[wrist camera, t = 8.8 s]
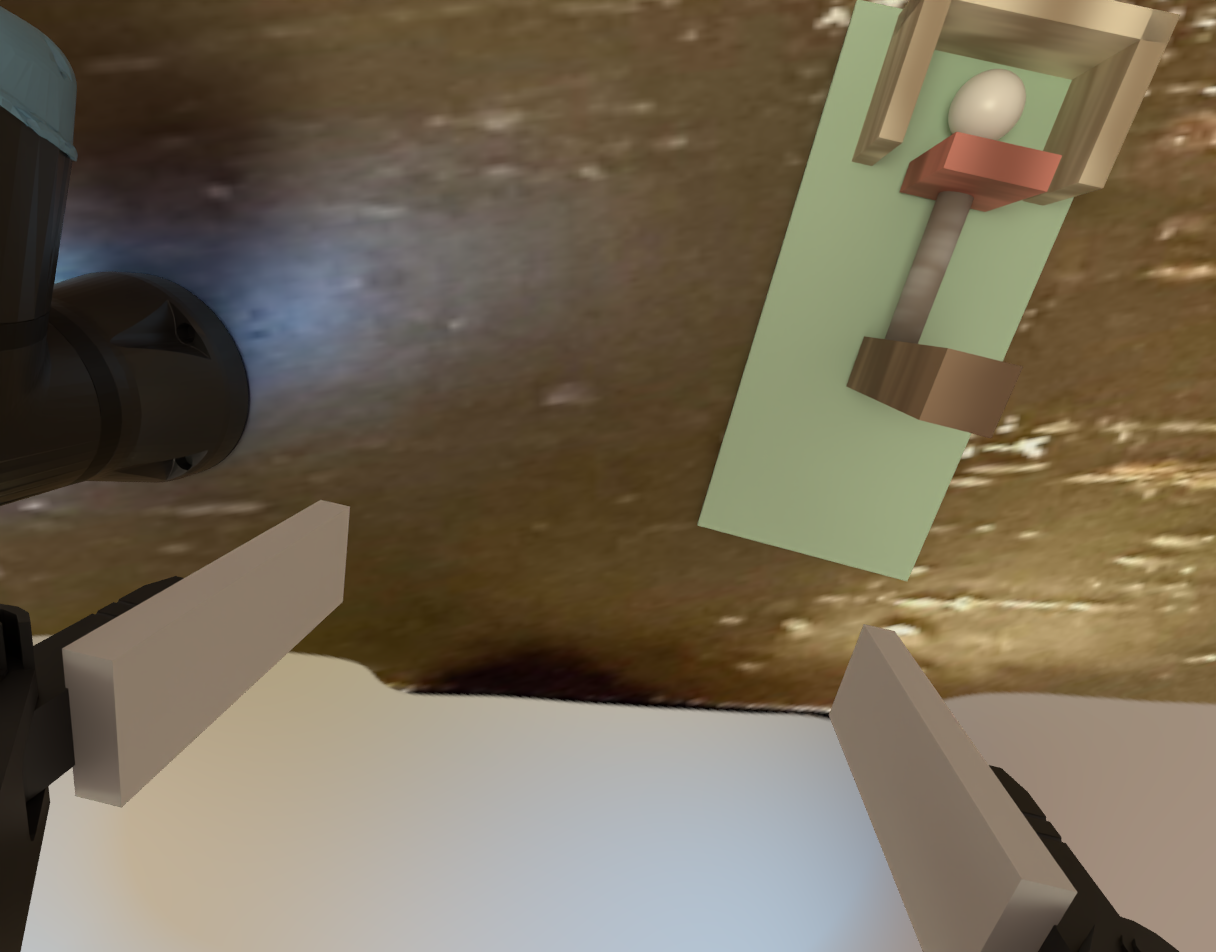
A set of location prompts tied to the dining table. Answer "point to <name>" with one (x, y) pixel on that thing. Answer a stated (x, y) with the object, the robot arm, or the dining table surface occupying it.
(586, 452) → the dining table surface
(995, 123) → the ball
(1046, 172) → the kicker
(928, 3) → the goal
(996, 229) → the mat
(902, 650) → the robot arm
